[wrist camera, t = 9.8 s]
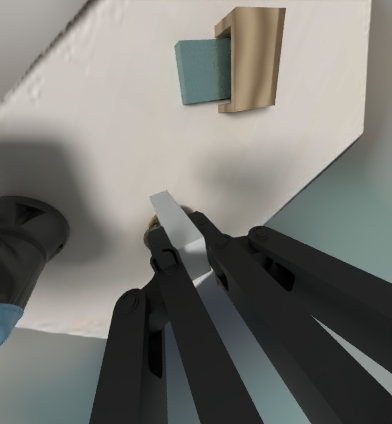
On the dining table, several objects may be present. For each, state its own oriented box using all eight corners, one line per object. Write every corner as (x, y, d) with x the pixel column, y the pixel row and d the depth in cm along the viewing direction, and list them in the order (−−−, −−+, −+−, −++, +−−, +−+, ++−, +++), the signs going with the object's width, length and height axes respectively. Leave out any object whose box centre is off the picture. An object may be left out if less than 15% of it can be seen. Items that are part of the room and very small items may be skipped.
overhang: (218, 112, 39) (235, 111, 33) (214, 26, 31) (236, 6, 25) (253, 106, 41) (274, 104, 36) (257, 26, 34) (285, 8, 28)
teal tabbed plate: (182, 104, 35) (187, 103, 33) (174, 46, 30) (179, 40, 28) (238, 96, 39) (245, 95, 36) (238, 43, 34) (247, 38, 32)
